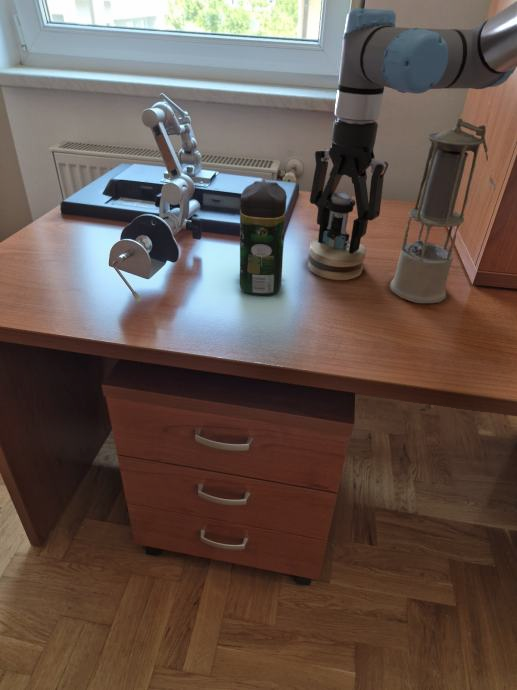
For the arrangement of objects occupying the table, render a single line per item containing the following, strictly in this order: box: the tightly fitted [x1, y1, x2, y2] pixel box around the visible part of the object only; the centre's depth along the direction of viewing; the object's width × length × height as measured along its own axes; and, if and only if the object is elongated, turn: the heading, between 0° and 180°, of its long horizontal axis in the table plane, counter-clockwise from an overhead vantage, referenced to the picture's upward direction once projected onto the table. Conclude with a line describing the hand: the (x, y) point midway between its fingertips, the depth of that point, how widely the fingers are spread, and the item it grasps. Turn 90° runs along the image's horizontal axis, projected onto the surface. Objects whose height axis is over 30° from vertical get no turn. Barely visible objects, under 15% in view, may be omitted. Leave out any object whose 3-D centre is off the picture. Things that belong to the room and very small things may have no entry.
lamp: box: [389, 118, 496, 304], centre depth 82 cm, size 10×13×30 cm
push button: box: [322, 192, 356, 250], centre depth 92 cm, size 7×5×10 cm
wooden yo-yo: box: [307, 238, 367, 281], centre depth 96 cm, size 12×12×4 cm
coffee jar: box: [239, 180, 288, 296], centre depth 85 cm, size 10×8×19 cm
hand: (338, 245), depth 94 cm, fingers closed on push button, 6 cm apart
